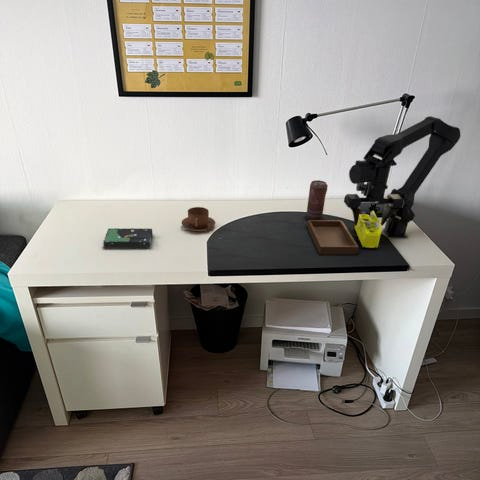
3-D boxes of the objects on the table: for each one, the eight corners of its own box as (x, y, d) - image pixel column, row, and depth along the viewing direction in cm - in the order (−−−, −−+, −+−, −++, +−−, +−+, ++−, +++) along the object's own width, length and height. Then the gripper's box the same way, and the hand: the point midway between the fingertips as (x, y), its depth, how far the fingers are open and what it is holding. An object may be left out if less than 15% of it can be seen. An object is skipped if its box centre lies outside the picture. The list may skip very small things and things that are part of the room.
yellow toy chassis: (378, 250, 147) (384, 227, 142) (361, 249, 147) (366, 226, 142) (368, 230, 160) (373, 208, 155) (353, 229, 160) (357, 207, 155)
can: (322, 222, 164) (327, 186, 156) (305, 221, 165) (310, 184, 157) (322, 216, 169) (328, 180, 161) (306, 214, 170) (311, 179, 162)
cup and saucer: (218, 232, 154) (218, 216, 151) (185, 235, 151) (184, 219, 148) (211, 219, 164) (210, 203, 160) (179, 222, 161) (178, 205, 157)
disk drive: (152, 235, 151) (108, 235, 150) (152, 228, 149) (107, 227, 148) (150, 249, 143) (103, 249, 141) (149, 241, 141) (102, 241, 140)
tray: (340, 227, 162) (341, 220, 160) (357, 254, 144) (358, 246, 143) (307, 227, 161) (307, 220, 159) (319, 254, 143) (320, 246, 142)
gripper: (397, 172, 149) (387, 215, 158) (343, 171, 147) (336, 215, 156) (410, 183, 140) (398, 228, 149) (352, 182, 138) (344, 228, 147)
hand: (368, 225), depth 151 cm, fingers open, 9 cm apart
